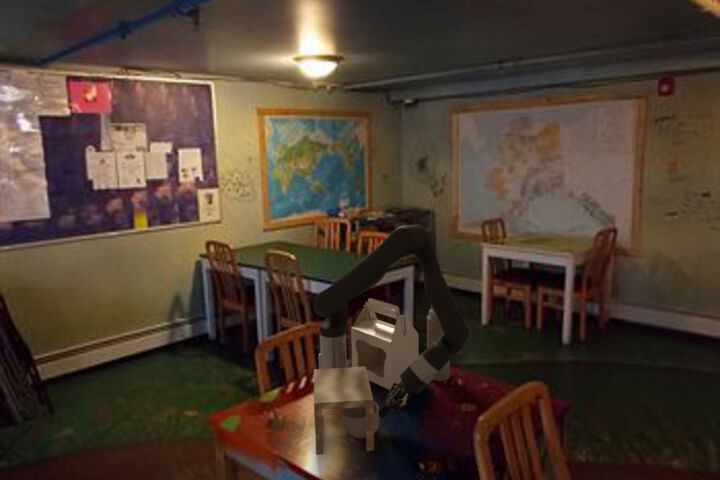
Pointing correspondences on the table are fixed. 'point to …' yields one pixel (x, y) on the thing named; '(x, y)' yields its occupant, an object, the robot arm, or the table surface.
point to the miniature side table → (342, 398)
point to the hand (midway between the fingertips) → (379, 415)
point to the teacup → (358, 420)
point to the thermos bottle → (432, 336)
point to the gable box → (383, 343)
